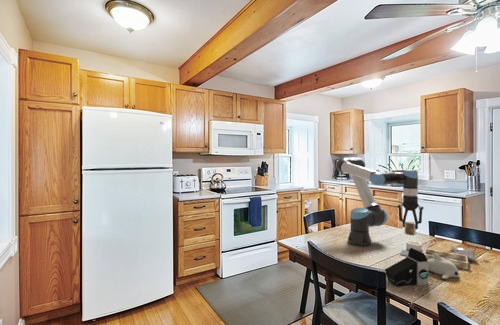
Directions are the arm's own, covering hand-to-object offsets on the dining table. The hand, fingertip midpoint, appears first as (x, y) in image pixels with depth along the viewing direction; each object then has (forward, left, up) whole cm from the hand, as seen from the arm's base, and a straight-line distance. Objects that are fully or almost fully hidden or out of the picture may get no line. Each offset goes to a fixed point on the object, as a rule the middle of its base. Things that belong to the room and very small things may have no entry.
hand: (410, 233), depth 154 cm
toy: (+13, -20, -13) cm, 27 cm away
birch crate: (+17, +1, -13) cm, 21 cm away
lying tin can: (+25, +11, -13) cm, 30 cm away
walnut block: (0, 0, 0) cm, 0 cm away
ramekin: (+1, +12, -13) cm, 18 cm away
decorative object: (+3, -41, -13) cm, 43 cm away
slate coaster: (0, 0, -13) cm, 13 cm away
